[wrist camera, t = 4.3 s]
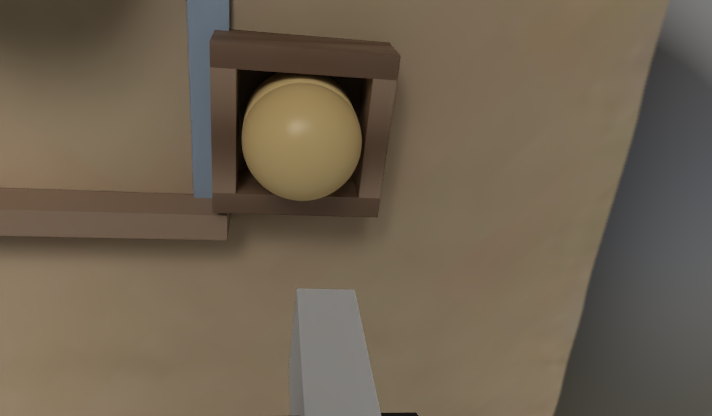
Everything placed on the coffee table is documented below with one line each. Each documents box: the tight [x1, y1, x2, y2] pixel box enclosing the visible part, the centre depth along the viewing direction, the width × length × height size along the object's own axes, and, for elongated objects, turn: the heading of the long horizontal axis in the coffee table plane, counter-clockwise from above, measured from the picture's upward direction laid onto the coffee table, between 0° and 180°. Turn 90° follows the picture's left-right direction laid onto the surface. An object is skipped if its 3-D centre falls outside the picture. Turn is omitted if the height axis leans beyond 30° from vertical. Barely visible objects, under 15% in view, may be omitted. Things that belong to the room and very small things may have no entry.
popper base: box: [209, 30, 400, 217], centre depth 29 cm, size 9×9×3 cm
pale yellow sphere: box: [242, 72, 362, 201], centre depth 28 cm, size 6×6×6 cm
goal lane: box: [0, 0, 230, 240], centre depth 27 cm, size 16×20×2 cm
